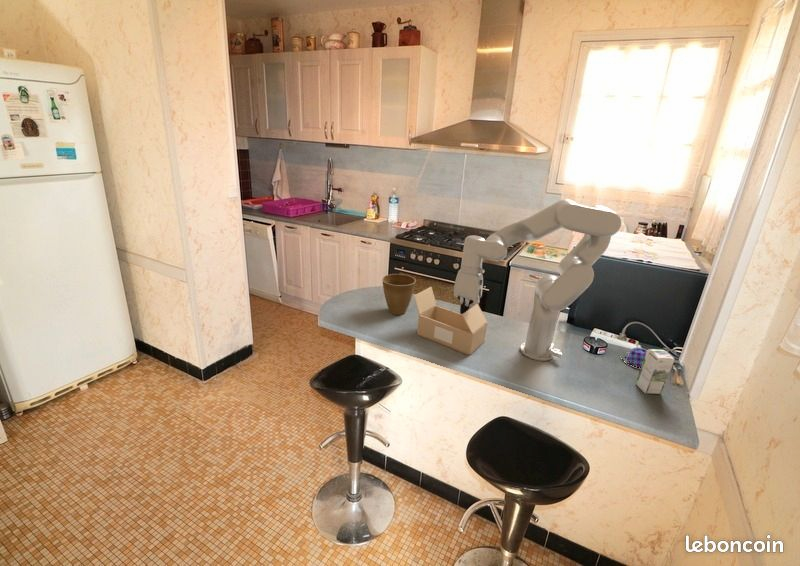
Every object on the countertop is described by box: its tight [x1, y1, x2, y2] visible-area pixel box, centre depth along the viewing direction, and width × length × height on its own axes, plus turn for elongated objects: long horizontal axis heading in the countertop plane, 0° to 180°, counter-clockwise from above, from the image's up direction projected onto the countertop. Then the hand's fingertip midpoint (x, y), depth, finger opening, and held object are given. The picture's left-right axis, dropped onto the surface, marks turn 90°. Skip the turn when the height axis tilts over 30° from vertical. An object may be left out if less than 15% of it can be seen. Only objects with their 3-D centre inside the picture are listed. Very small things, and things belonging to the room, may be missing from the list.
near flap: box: [462, 304, 488, 334], centre depth 149 cm, size 8×13×1 cm
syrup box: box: [635, 348, 675, 395], centre depth 131 cm, size 6×6×14 cm
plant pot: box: [381, 273, 417, 316], centre depth 176 cm, size 15×15×16 cm
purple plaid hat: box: [620, 347, 648, 370], centre depth 149 cm, size 12×12×5 cm
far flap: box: [413, 286, 437, 315], centre depth 160 cm, size 8×13×1 cm
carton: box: [416, 304, 488, 356], centre depth 156 cm, size 24×13×9 cm, turn 54°
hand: (463, 313), depth 151 cm, fingers closed
